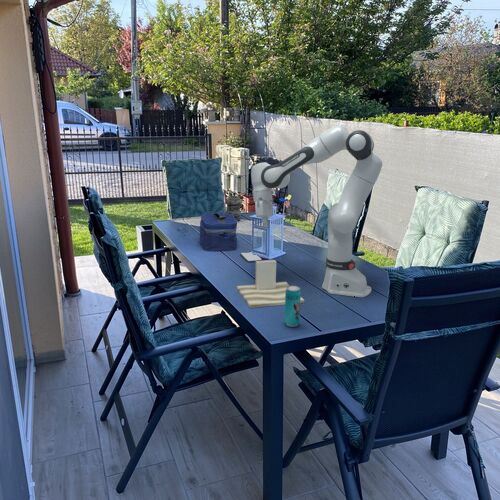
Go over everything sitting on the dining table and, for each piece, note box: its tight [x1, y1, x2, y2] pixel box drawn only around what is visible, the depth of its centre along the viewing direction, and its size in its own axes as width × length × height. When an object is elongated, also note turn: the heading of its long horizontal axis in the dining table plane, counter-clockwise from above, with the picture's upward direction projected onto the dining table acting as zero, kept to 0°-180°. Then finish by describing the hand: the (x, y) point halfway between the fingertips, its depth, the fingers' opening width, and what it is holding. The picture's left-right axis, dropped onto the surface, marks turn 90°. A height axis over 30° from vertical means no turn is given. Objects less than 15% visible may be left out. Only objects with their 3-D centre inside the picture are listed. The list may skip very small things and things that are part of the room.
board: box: [236, 281, 305, 309], centre depth 217 cm, size 24×24×1 cm
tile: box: [254, 259, 277, 290], centre depth 221 cm, size 9×2×13 cm, turn 105°
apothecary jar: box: [224, 195, 242, 223], centre depth 362 cm, size 12×12×18 cm
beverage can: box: [284, 285, 302, 328], centre depth 186 cm, size 6×6×15 cm
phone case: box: [239, 251, 263, 264], centre depth 272 cm, size 9×2×16 cm
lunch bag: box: [199, 212, 238, 252], centre depth 293 cm, size 31×21×20 cm
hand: (265, 226), depth 230 cm, fingers closed
